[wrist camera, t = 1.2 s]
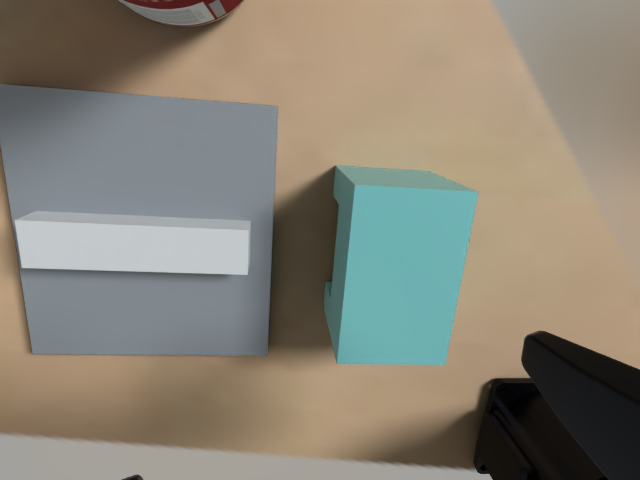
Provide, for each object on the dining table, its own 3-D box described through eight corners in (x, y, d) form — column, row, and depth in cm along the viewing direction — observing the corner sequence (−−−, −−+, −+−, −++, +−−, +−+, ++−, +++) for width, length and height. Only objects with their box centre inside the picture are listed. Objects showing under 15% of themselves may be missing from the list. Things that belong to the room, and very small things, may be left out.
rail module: (429, 171, 20) (478, 192, 15) (408, 308, 22) (445, 364, 17) (335, 165, 19) (354, 184, 14) (323, 306, 21) (336, 363, 16)
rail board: (277, 106, 18) (278, 105, 16) (267, 347, 21) (266, 374, 19) (3, 84, 17) (-38, 81, 14) (41, 344, 20) (13, 373, 18)
